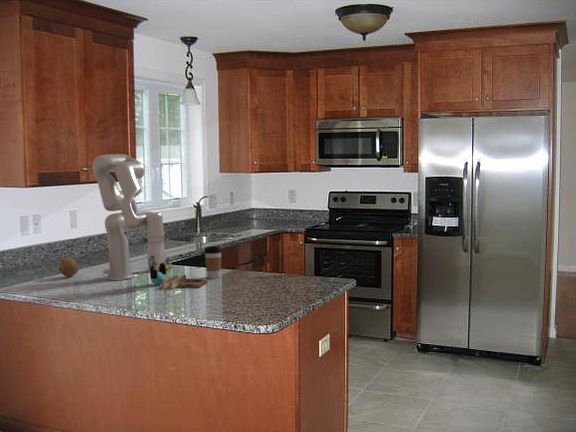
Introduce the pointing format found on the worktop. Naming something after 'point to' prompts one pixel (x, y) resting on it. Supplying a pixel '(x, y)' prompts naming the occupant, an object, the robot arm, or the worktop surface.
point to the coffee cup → (213, 261)
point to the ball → (158, 279)
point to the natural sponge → (68, 267)
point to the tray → (193, 283)
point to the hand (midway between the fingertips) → (158, 276)
